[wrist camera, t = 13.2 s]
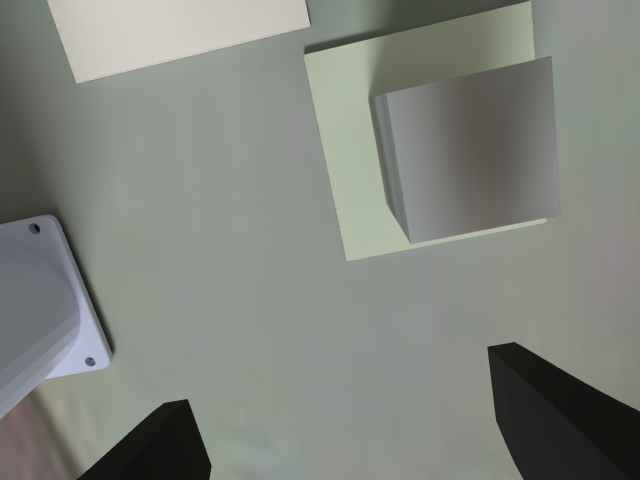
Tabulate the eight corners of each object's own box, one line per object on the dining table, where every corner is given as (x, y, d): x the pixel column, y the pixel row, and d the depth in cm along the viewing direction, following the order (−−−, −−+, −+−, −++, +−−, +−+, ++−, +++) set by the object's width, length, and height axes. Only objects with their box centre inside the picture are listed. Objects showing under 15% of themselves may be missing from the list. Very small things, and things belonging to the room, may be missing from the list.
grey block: (386, 203, 19) (411, 244, 13) (368, 99, 18) (386, 93, 12) (489, 182, 19) (560, 215, 13) (478, 74, 17) (551, 56, 12)
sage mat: (346, 259, 20) (346, 261, 20) (303, 56, 18) (303, 55, 17) (542, 220, 19) (546, 222, 19) (527, 2, 17) (531, 0, 16)
